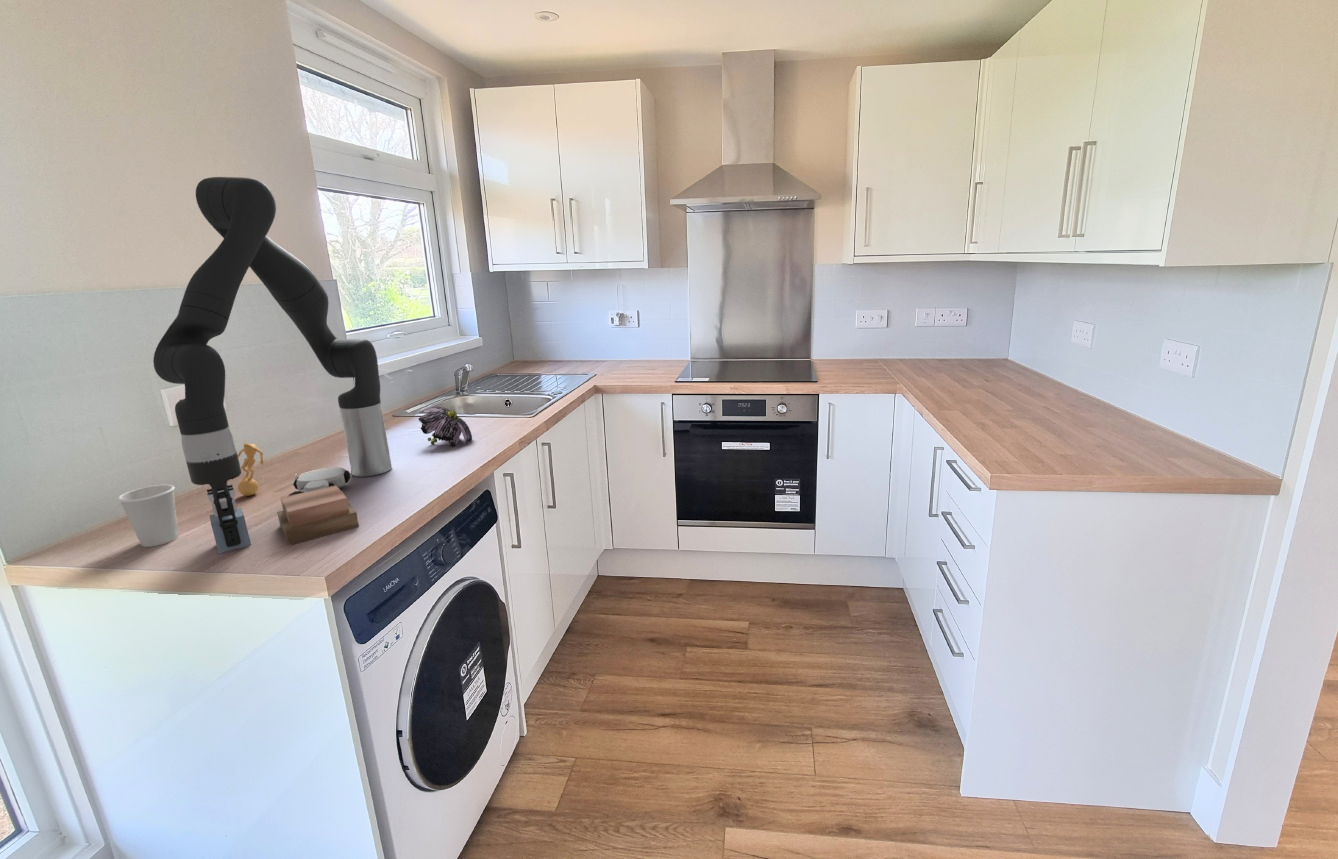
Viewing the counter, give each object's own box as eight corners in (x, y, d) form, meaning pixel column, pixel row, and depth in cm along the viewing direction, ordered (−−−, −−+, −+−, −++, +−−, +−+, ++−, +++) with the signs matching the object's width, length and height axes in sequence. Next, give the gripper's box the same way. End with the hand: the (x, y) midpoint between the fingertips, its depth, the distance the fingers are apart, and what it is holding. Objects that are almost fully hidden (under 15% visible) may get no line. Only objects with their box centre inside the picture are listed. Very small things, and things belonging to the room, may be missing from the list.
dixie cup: (124, 553, 113) (109, 503, 111) (141, 536, 121) (127, 489, 118) (179, 544, 116) (166, 494, 114) (192, 528, 124) (180, 481, 121)
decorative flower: (449, 418, 165) (412, 398, 171) (436, 458, 167) (400, 437, 173) (487, 420, 178) (451, 402, 184) (475, 457, 180) (440, 437, 186)
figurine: (228, 497, 141) (215, 447, 137) (251, 488, 146) (240, 439, 143) (256, 499, 138) (244, 448, 135) (279, 489, 144) (268, 441, 141)
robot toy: (347, 505, 135) (356, 479, 148) (342, 487, 133) (352, 462, 147) (283, 515, 131) (299, 487, 145) (279, 496, 130) (295, 470, 143)
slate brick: (217, 544, 116) (209, 515, 114) (248, 536, 119) (241, 507, 117) (218, 553, 112) (210, 523, 110) (251, 545, 115) (243, 515, 113)
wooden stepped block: (280, 525, 123) (273, 497, 121) (345, 509, 130) (340, 482, 128) (289, 545, 114) (282, 515, 112) (358, 526, 121) (353, 498, 119)
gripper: (239, 458, 107) (260, 546, 112) (233, 442, 118) (252, 523, 123) (186, 468, 103) (210, 559, 107) (184, 450, 114) (206, 534, 118)
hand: (232, 539), depth 115 cm, fingers open, 5 cm apart
